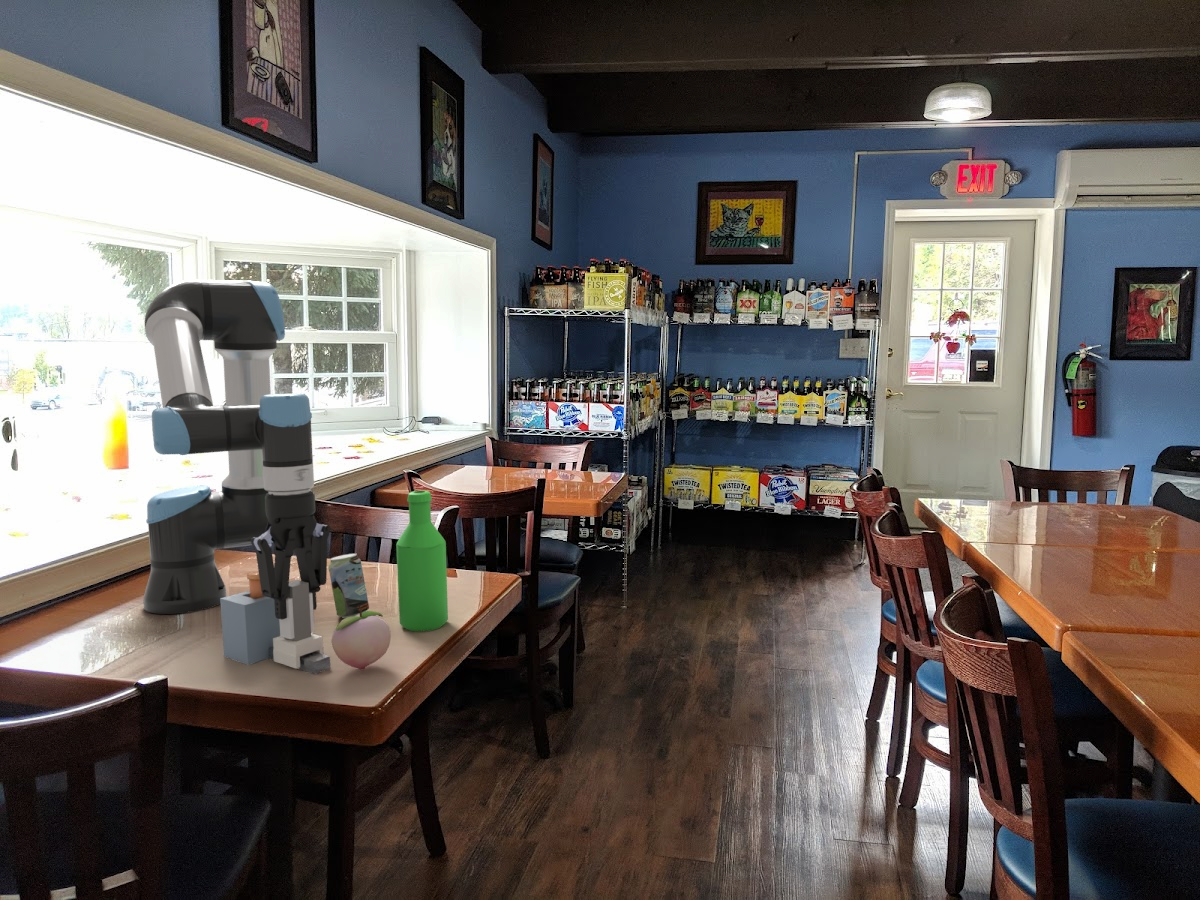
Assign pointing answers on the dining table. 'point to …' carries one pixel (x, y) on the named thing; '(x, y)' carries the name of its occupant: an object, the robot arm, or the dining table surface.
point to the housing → (248, 627)
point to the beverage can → (348, 585)
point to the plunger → (254, 585)
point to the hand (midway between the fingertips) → (297, 633)
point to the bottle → (421, 569)
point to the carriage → (298, 629)
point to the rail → (310, 661)
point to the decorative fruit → (361, 639)
